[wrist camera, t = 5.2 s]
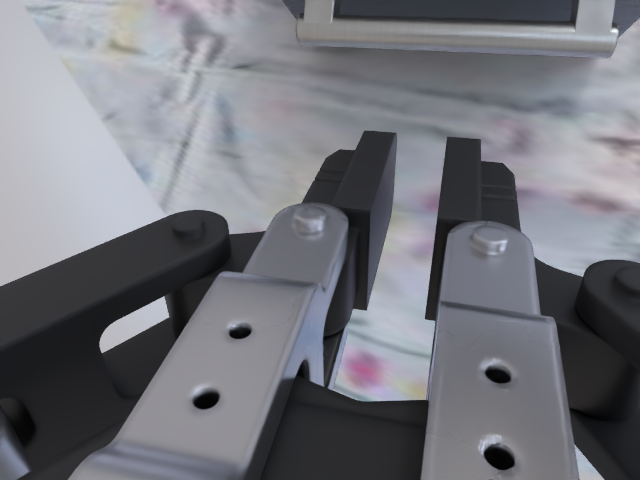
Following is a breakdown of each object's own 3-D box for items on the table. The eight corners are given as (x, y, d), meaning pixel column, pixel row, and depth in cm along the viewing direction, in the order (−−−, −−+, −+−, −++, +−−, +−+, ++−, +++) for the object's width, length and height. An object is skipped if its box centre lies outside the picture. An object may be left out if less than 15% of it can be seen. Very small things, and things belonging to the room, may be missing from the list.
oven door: (593, 108, 32) (690, 45, 20) (308, 90, 36) (240, 28, 24) (604, 27, 32) (711, -88, 19) (315, 18, 36) (250, -83, 23)
